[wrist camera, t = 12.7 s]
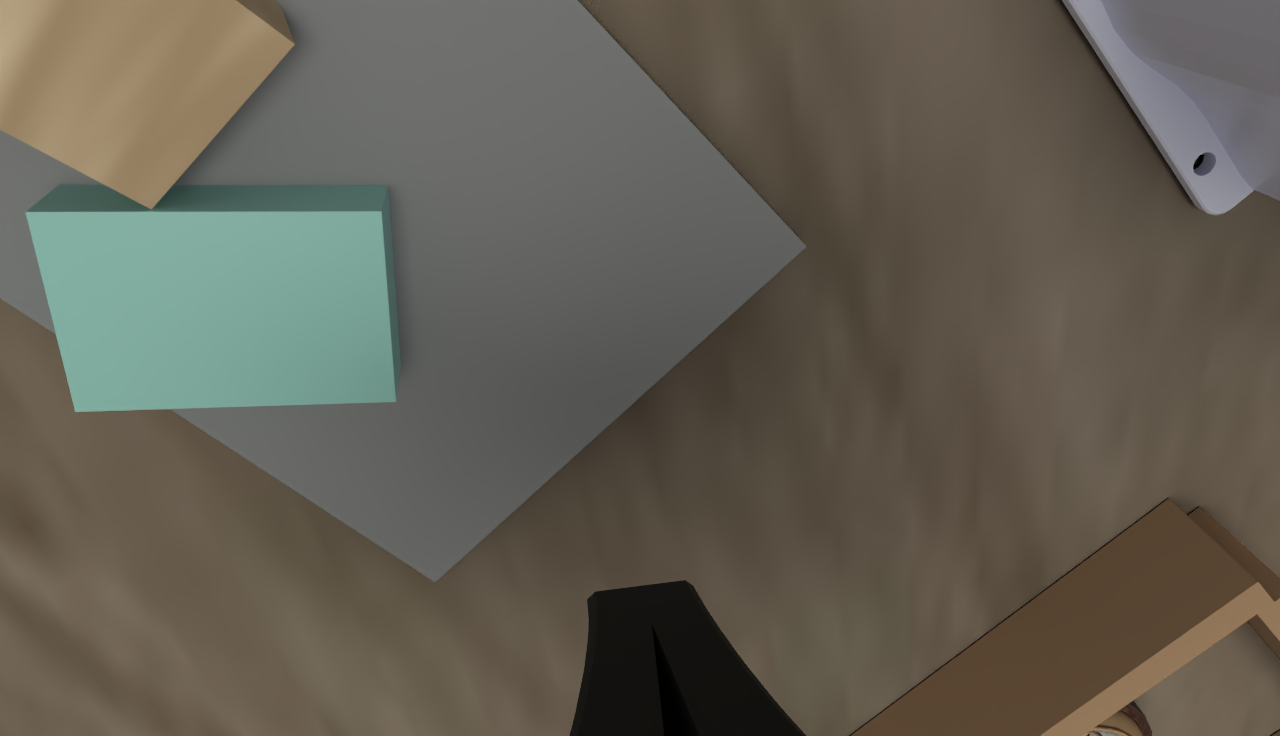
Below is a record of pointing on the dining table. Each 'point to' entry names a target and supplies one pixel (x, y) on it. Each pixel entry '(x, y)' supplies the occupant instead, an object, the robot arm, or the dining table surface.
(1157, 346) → the dining table surface
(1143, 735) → the dark brown rounded piece
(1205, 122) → the robot arm
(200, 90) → the tile
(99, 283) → the tile
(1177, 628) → the board and tray
